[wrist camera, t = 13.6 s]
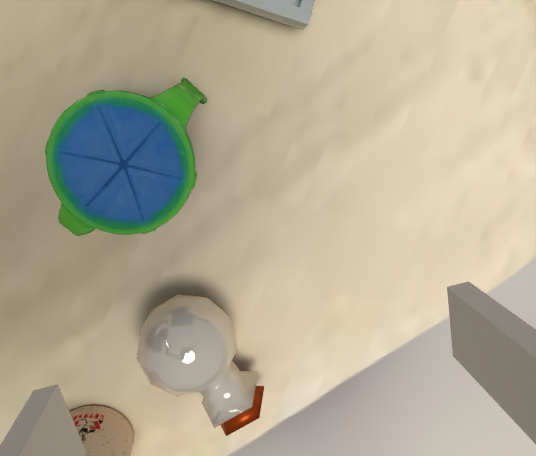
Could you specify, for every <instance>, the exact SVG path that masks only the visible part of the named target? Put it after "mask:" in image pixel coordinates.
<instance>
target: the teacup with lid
mask: <svg viewBox="0 0 536 456" xmlns="http://www.w3.org/2000/svg"><path fill="white" fill-rule="evenodd" d="M70 415H71V417H72V419H73V422H74V424H75V426H76V429H77V431H78V433H79V436H80V438H81V440H82V443H83V445H84V447H85V450H86V453H85V456H130V454H131V450H132V447H133V442H134V434H133V430H132V427H131V425H130V423H129V422H128V421H127V419H126V418H125V417H124V416H123V415H121V414H120V413H119V412H117V411H115V410H113V409H111V408H108V407H104V406H95V405H94V406H84V407H80V408H77V409H75V410H73V411H71V412H70Z"/></svg>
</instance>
